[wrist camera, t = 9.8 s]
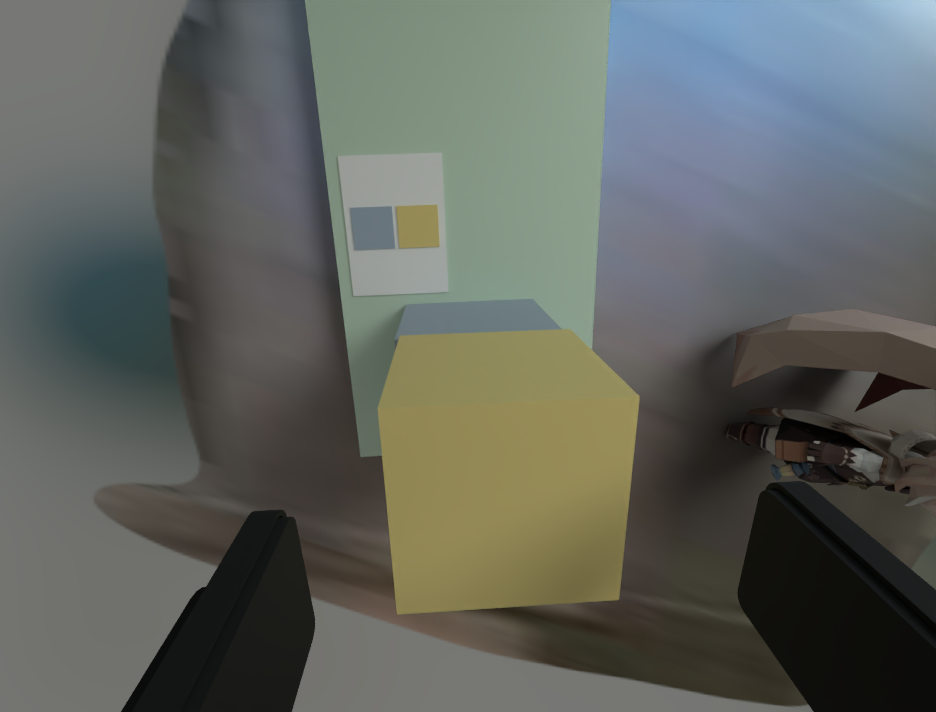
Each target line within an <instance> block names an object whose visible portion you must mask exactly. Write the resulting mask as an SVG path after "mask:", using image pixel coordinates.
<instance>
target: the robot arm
mask: <svg viewBox="0 0 936 712" xmlns="http://www.w3.org/2000/svg"><path fill="white" fill-rule="evenodd" d="M738 599H739V603H740V605H741V608H742V609H743V611H744V613H745V614H746V615H747V617H748V618H749V620H750V621H751V623H752V624H753V625H754V627H755V628H756V630H757V631H758V633H759V634H760V636H761V637H762V638H763V640H764V641H765V643H766V644H767V646H768V647H769V648H770V650H771V651H772V653H773V654H774V656H775V657H776V658H777V660H778V661H779V663H780V664H781V666H782V667H783V668H784V670H785V671H786V673H787V674H788V676H789V677H790V678H791V680H792V681H793V683H794V684H795V686H796V687H797V689H798V690H799V691H800V693H801V694H802V696H803V697H804V699H805V700H806V701H807V703H808V704H809V706H810V707H811V709H812V710H813V711H814V712H936V590H935V589H934V588H933V587H932V586H930V585H929V584H928V583H927V582H926V581H924V580H923V579H922V578H921V577H920V576H918V575H917V574H916V573H915V572H914V571H912V570H911V569H910V568H909V567H907V566H906V565H905V564H904V563H903V562H901V561H900V560H899V559H898V558H897V557H895V556H894V555H893V554H892V553H891V552H889V551H888V550H887V549H886V548H885V547H883V546H882V545H881V544H880V543H878V542H877V541H876V540H875V539H874V538H872V537H871V536H870V535H869V534H868V533H866V532H865V531H864V530H863V529H862V528H860V527H859V526H858V525H857V524H855V523H854V522H853V521H852V520H851V519H849V518H848V517H847V516H846V515H845V514H843V513H842V512H841V511H840V510H839V509H837V508H836V507H835V506H834V505H833V504H831V503H830V502H829V501H828V500H826V499H825V498H824V497H823V496H822V495H820V494H819V493H818V492H817V491H816V490H814V489H813V488H812V487H811V486H810V485H808V484H806V483H805V482H801V481H793V482H775V483H770V484H769V485H768V486H767V487H766V490H765V491H762V492H761V493H760V495H759V498H758V503H757V507H756V511H755V516H754V520H753V525H752V529H751V534H750V538H749V542H748V547H747V551H746V556H745V560H744V565H743V569H742V573H741V578H740V582H739V587H738ZM314 629H315V616H314V611H313V606H312V601H311V596H310V591H309V586H308V581H307V576H306V571H305V566H304V561H303V556H302V551H301V545H300V540H299V535H298V530H297V525H296V521H295V519H294V517H287V516H286V513H285V512H284V510H269V511H254V512H252V513H250V515H249V516H248V517H247V519H246V521H245V522H244V524H243V526H242V527H241V529H240V531H239V533H238V534H237V536H236V538H235V539H234V541H233V543H232V544H231V546H230V548H229V549H228V551H227V553H226V554H225V556H224V558H223V559H222V561H221V563H220V564H219V566H218V568H217V570H216V571H215V573H214V575H213V576H212V578H211V580H210V581H209V583H208V585H207V586H206V587H202V588H201V589H199V590H198V591H196V593H195V594H194V595H193V596H192V598H191V599H190V601H189V602H188V604H187V605H186V607H185V609H184V610H183V612H182V614H181V615H180V617H179V618H178V620H177V622H176V623H175V625H174V627H173V629H172V630H171V632H170V633H169V635H168V636H167V638H166V640H165V641H164V643H163V645H162V646H161V648H160V649H159V651H158V653H157V654H156V656H155V658H154V659H153V661H152V662H151V664H150V666H149V667H148V669H147V671H146V672H145V674H144V675H143V677H142V679H141V680H140V682H139V683H138V685H137V687H136V688H135V690H134V692H133V693H132V695H131V696H130V698H129V700H128V701H127V703H126V705H125V706H124V708H123V709H122V711H121V712H292V709H293V705H294V702H295V699H296V695H297V692H298V688H299V685H300V681H301V678H302V675H303V671H304V668H305V664H306V661H307V657H308V654H309V651H310V647H311V643H312V640H313V636H314Z"/></svg>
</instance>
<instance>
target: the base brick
mask: <svg viewBox="0 0 936 712" xmlns="http://www.w3.org/2000/svg"><path fill="white" fill-rule="evenodd" d="M555 329H561V328H560V327H559V326H558V325H557V324H556V323H555V322H554V320H553V319H552V318H551V317H550V316H549V315H548V314H547V313H546V312H545V311H544V310H543V309H542V308H541V307H540V306H539V305H538V304H537V303H536V302H535V301H534V300H533V299H513V300H491V301H468V302H446V303H423V304H406V307H405V310H404V313H403V316H402V319H401V322H400V325H399V328H398V331H397V334H396V337H395V340H394V341H395V349H396V346H397V343H398V340H399V336H400V335H425V334H451V333H477V332H503V331H529V330H555Z"/></svg>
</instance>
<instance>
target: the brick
mask: <svg viewBox="0 0 936 712" xmlns="http://www.w3.org/2000/svg"><path fill="white" fill-rule="evenodd" d="M639 398H640V396H639V395H638V394H637V393H635V392H634V391H633V390H632V389H631V388H630V387H629V386H628V385H627V384H626V383H625V382H624V381H623V380H622V379H621V378H620V377H619V376H618V375H617V374H616V373H615V372H614V371H613V370H612V369H611V368H610V367H609V366H608V365H607V364H606V363H605V362H604V361H603V360H602V359H601V358H600V357H599V356H598V355H597V354H596V353H595V352H593V351H592V350H591V349H590V348H589V347H588V346H587V345H586V344H585V343H584V342H583V341H582V340H581V339H580V338H579V337H578V336H577V335H576V334H575V333H574V332H573V331H572V330H571V329H555V330H529V331H503V332H477V333H451V334H425V335H400V336H399V340H398V343H397V346H396V349H395V353H394V356H393V359H392V363H391V366H390V369H389V373H388V376H387V379H386V382H385V386H384V389H383V392H382V396H381V399H380V402H379V406H378V418H379V429H380V439H381V450H382V461H383V471H384V482H385V492H386V503H387V514H388V524H389V535H390V545H391V556H392V567H393V577H394V588H395V599H396V609H397V614H412V613H428V612H443V611H458V610H473V609H488V608H503V607H518V606H533V605H548V604H563V603H578V602H594V601H609V600H619V595H620V585H621V575H622V565H623V555H624V546H625V536H626V526H627V516H628V506H629V497H630V487H631V477H632V467H633V457H634V447H635V438H636V428H637V418H638V408H639Z"/></svg>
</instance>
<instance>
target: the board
mask: <svg viewBox="0 0 936 712" xmlns="http://www.w3.org/2000/svg"><path fill="white" fill-rule="evenodd" d="M305 6H306V14H307V22H308V31H309V39H310V47H311V55H312V64H313V72H314V80H315V88H316V96H317V105H318V113H319V121H320V129H321V137H322V146H323V154H324V162H325V170H326V178H327V187H328V195H329V203H330V211H331V219H332V228H333V236H334V244H335V252H336V260H337V269H338V277H339V285H340V293H341V301H342V310H343V318H344V326H345V334H346V342H347V351H348V359H349V367H350V375H351V383H352V392H353V400H354V408H355V416H356V424H357V433H358V441H359V449H360V457H370V456H382V450H381V439H380V429H379V418H378V406H379V402H380V399H381V396H382V392H383V389H384V386H385V382H386V379H387V376H388V373H389V369H390V366H391V363H392V359H393V356H394V353H395V341H394V340H395V337H396V334H397V331H398V328H399V325H400V322H401V319H402V316H403V313H404V310H405V307H406V304H423V303H446V302H468V301H491V300H513V299H533V300H534V301H535V302H536V303H537V304H538V305H539V306H540V307H541V308H542V309H543V310H544V311H545V312H546V313H547V314H548V315H549V316H550V317H551V318H552V319H553V320H554V322H555V323H556V324H557V325H558V326H559V327H560V328H561V329H571V330H572V331H573V332H574V333H575V334H576V335H577V336H578V337H579V338H580V339H581V340H582V341H583V342H584V343H585V344H586V345H587V346H588V347H589V348H590V349H591V350H592V339H593V320H594V302H595V284H596V265H597V247H598V228H599V210H600V192H601V173H602V155H603V137H604V118H605V100H606V81H607V63H608V45H609V26H610V8H611V0H305Z"/></svg>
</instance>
